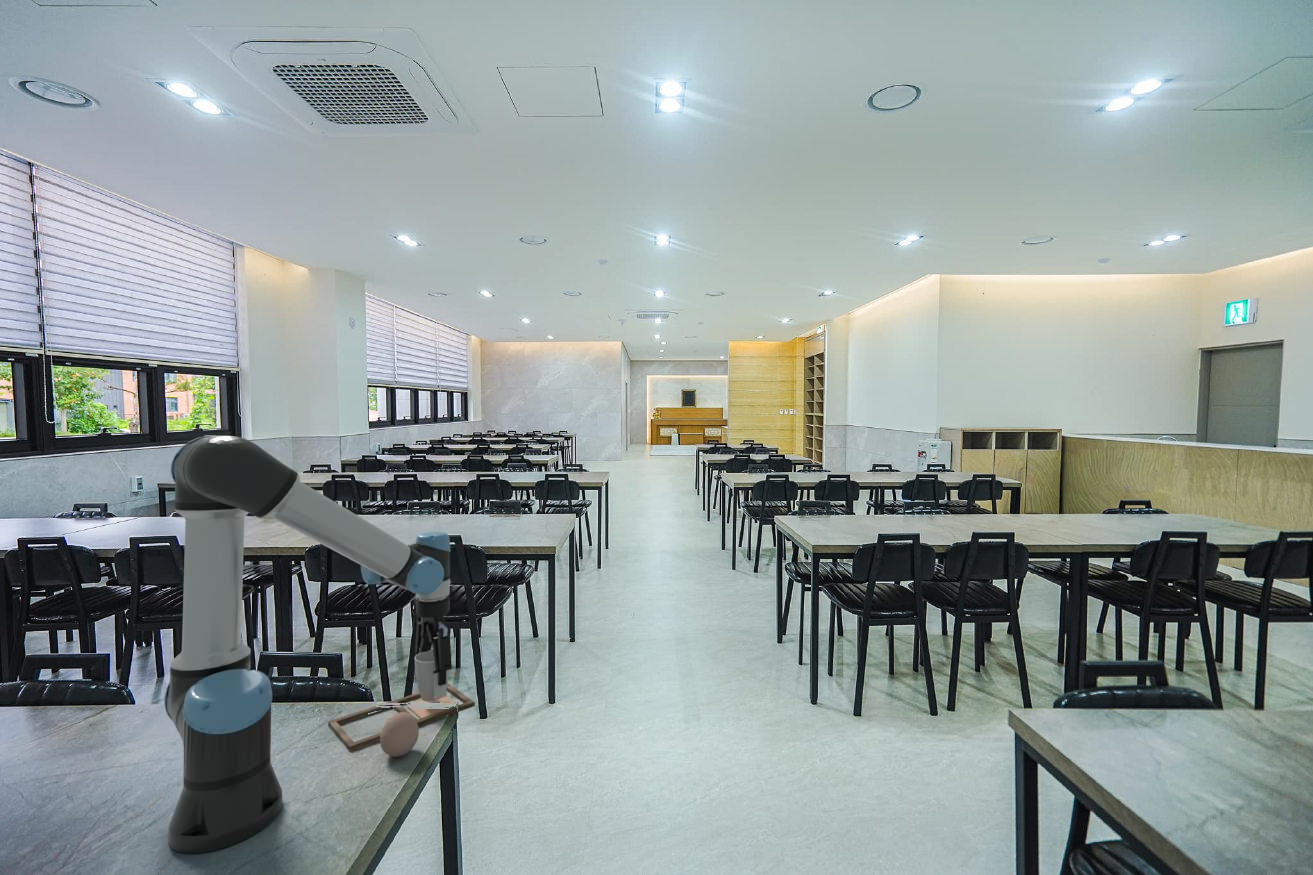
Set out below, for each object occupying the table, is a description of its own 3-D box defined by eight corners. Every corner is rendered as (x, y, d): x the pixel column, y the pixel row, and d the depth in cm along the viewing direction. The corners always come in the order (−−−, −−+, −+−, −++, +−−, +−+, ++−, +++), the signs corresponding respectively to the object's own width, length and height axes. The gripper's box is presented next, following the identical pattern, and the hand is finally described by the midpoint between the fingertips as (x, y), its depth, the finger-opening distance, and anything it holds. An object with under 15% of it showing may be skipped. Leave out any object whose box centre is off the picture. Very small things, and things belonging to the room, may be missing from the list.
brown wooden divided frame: (474, 706, 134) (474, 701, 134) (349, 751, 115) (349, 746, 115) (447, 686, 145) (447, 683, 145) (328, 725, 125) (328, 721, 125)
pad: (458, 706, 134) (458, 704, 134) (421, 719, 128) (421, 717, 128) (442, 693, 141) (442, 692, 141) (405, 705, 134) (405, 704, 134)
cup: (457, 694, 136) (458, 653, 136) (428, 708, 129) (428, 664, 129) (436, 686, 140) (436, 646, 140) (407, 698, 133) (407, 657, 133)
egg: (417, 760, 112) (417, 719, 112) (377, 767, 109) (378, 725, 109) (419, 742, 118) (419, 703, 118) (382, 748, 116) (382, 708, 116)
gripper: (468, 603, 130) (467, 701, 130) (430, 586, 144) (429, 674, 144) (436, 610, 125) (435, 712, 125) (400, 591, 139) (399, 683, 139)
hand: (432, 691), depth 134 cm, fingers closed on cup, 8 cm apart
